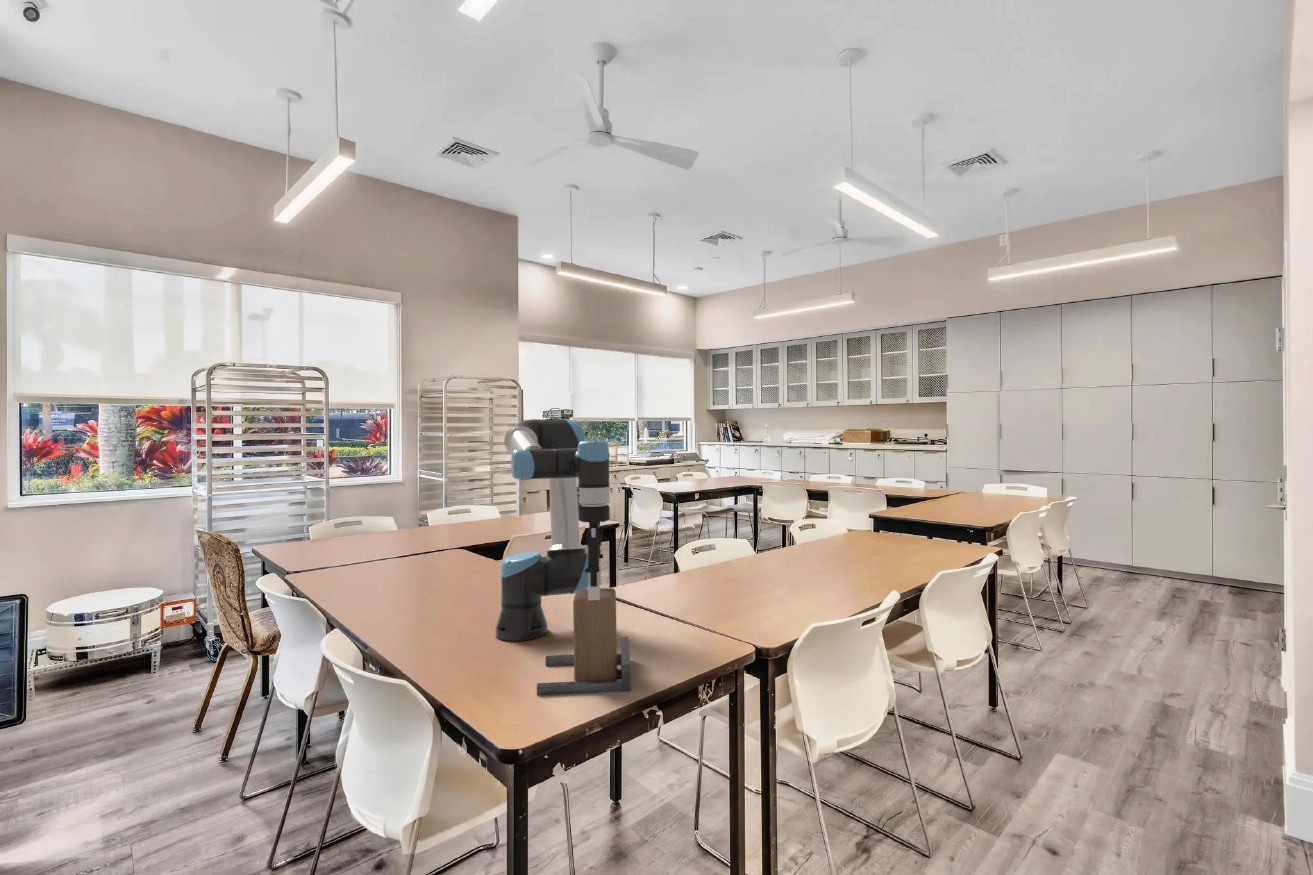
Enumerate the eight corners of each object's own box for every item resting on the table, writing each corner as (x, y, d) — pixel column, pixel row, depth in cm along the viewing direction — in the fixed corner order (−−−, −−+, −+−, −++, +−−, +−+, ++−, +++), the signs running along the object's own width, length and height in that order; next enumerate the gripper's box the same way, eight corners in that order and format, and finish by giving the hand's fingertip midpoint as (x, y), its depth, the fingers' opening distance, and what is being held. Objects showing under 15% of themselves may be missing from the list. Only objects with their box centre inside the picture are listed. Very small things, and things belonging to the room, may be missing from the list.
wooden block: (576, 669, 150) (575, 588, 151) (616, 667, 151) (615, 587, 151) (574, 684, 140) (572, 598, 141) (617, 682, 141) (615, 597, 141)
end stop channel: (536, 695, 135) (536, 668, 135) (546, 663, 155) (546, 639, 155) (630, 690, 136) (630, 664, 136) (628, 659, 156) (628, 636, 156)
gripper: (580, 499, 158) (581, 580, 159) (575, 511, 134) (576, 607, 134) (609, 498, 159) (610, 579, 159) (609, 510, 134) (610, 606, 134)
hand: (594, 592), depth 146 cm, fingers open, 13 cm apart
